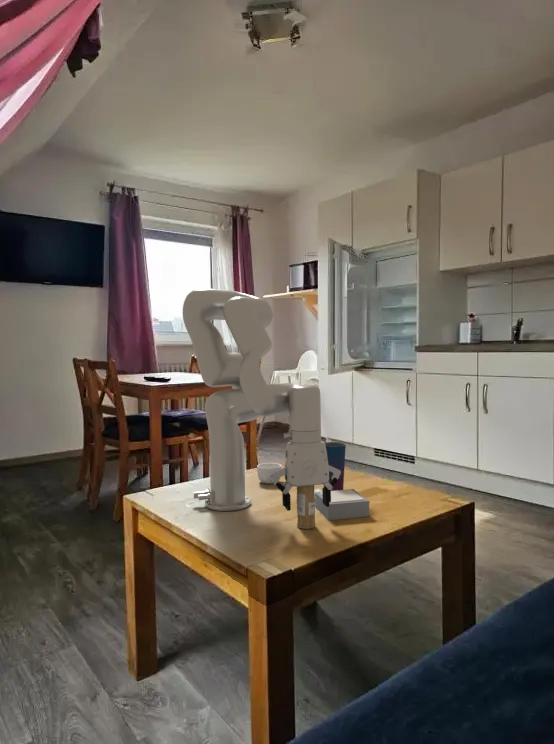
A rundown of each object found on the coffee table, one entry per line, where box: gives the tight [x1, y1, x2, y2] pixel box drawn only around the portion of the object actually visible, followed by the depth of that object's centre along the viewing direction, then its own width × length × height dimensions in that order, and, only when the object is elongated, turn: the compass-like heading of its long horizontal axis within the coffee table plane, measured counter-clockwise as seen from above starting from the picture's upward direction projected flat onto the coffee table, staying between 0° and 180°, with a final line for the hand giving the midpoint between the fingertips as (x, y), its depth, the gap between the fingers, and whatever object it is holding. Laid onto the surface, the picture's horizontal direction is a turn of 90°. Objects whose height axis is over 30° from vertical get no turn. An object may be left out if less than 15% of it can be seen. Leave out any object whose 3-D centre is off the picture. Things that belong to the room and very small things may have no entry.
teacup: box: [256, 462, 285, 485], centre depth 164 cm, size 10×8×5 cm
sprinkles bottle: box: [296, 485, 316, 530], centre depth 124 cm, size 5×5×13 cm
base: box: [314, 488, 370, 521], centre depth 135 cm, size 11×11×4 cm
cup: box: [325, 441, 347, 491], centre depth 149 cm, size 7×7×15 cm
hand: (307, 507), depth 124 cm, fingers open, 9 cm apart
